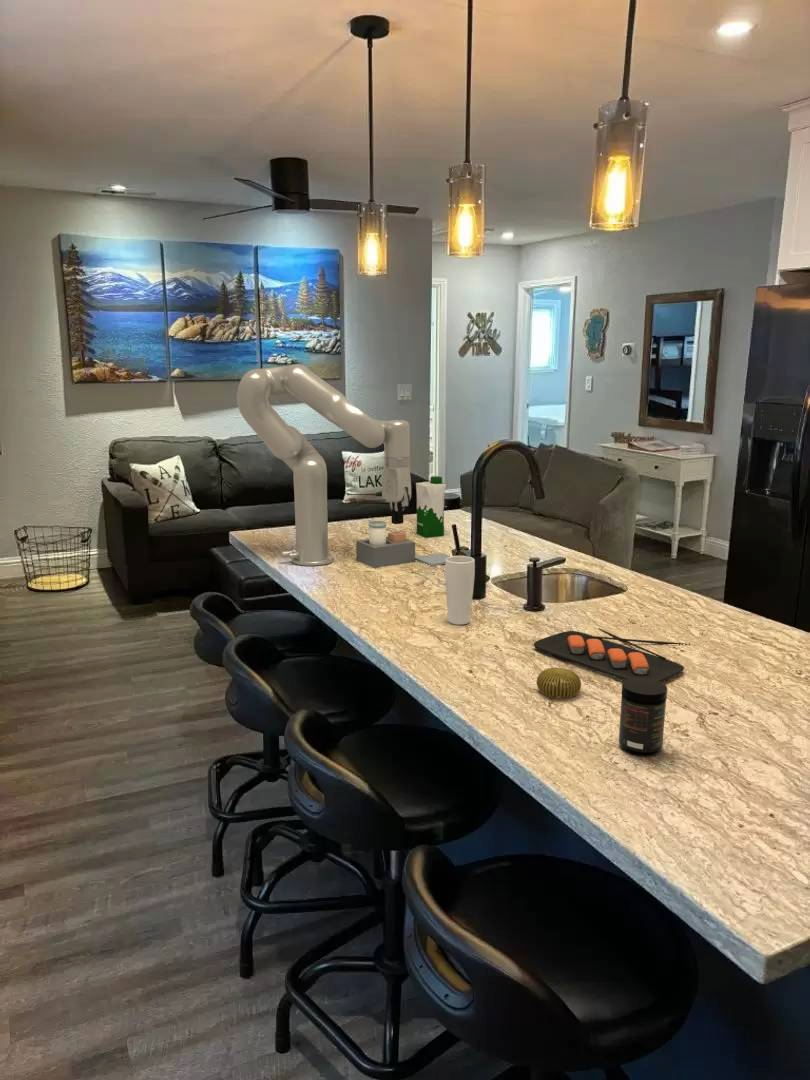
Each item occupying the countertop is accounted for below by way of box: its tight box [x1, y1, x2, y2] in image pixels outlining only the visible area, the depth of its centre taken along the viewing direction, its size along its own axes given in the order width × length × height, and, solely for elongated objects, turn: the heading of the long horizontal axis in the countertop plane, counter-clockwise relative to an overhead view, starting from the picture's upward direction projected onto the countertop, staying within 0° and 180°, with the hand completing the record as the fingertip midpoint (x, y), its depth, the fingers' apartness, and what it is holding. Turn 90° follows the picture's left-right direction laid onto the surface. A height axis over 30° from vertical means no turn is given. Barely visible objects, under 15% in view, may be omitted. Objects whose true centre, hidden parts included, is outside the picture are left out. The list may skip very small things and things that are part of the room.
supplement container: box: [618, 678, 668, 757], centre depth 125 cm, size 7×7×10 cm
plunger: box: [387, 531, 407, 542], centre depth 242 cm, size 4×4×5 cm
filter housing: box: [355, 536, 416, 569], centre depth 241 cm, size 14×11×6 cm
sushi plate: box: [533, 628, 691, 683], centre depth 167 cm, size 29×30×4 cm
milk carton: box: [415, 475, 447, 539], centre depth 274 cm, size 9×9×20 cm
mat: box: [415, 552, 451, 567], centre depth 241 cm, size 10×10×1 cm
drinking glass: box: [444, 555, 476, 626], centre depth 185 cm, size 7×7×15 cm
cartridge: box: [368, 520, 387, 546], centre depth 239 cm, size 5×5×12 cm
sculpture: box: [536, 667, 582, 699], centre depth 147 cm, size 8×4×8 cm
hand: (397, 523), depth 241 cm, fingers closed
